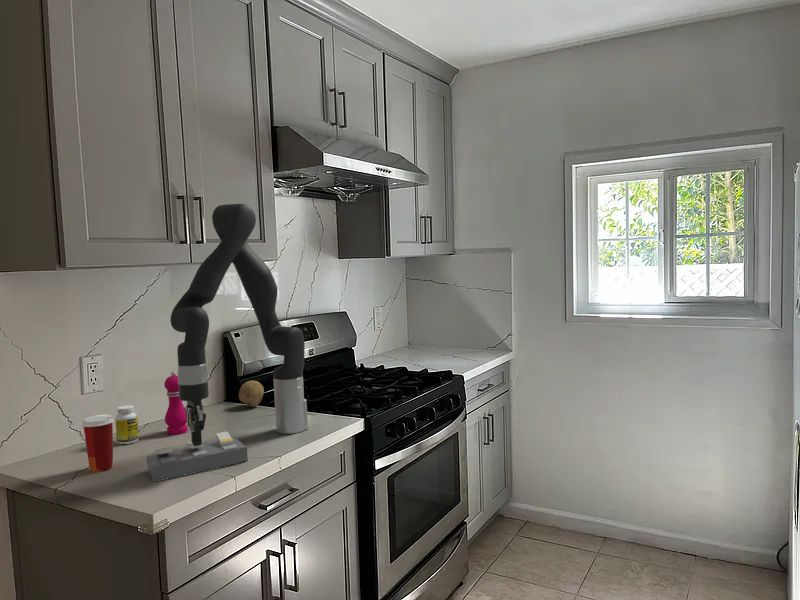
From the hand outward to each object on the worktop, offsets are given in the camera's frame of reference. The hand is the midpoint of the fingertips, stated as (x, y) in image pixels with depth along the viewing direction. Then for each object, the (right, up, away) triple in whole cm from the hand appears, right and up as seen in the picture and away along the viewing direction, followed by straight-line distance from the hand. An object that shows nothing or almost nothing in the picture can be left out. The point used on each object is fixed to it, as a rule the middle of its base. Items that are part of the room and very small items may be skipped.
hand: (196, 444), depth 164 cm
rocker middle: (-1, -1, +2) cm, 2 cm away
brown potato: (0, -1, +62) cm, 62 cm away
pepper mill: (-17, -4, +33) cm, 38 cm away
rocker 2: (+6, 0, +6) cm, 8 cm away
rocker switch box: (0, -6, +1) cm, 6 cm away
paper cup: (-27, -7, +2) cm, 27 cm away
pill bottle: (-29, -5, +25) cm, 39 cm away
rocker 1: (-8, -1, -2) cm, 8 cm away
